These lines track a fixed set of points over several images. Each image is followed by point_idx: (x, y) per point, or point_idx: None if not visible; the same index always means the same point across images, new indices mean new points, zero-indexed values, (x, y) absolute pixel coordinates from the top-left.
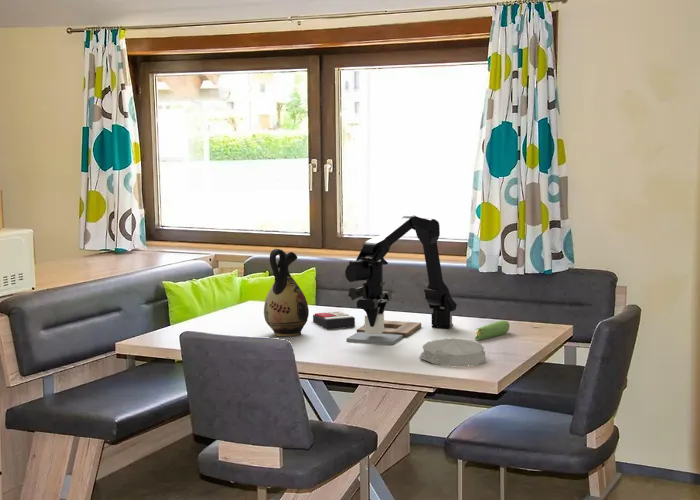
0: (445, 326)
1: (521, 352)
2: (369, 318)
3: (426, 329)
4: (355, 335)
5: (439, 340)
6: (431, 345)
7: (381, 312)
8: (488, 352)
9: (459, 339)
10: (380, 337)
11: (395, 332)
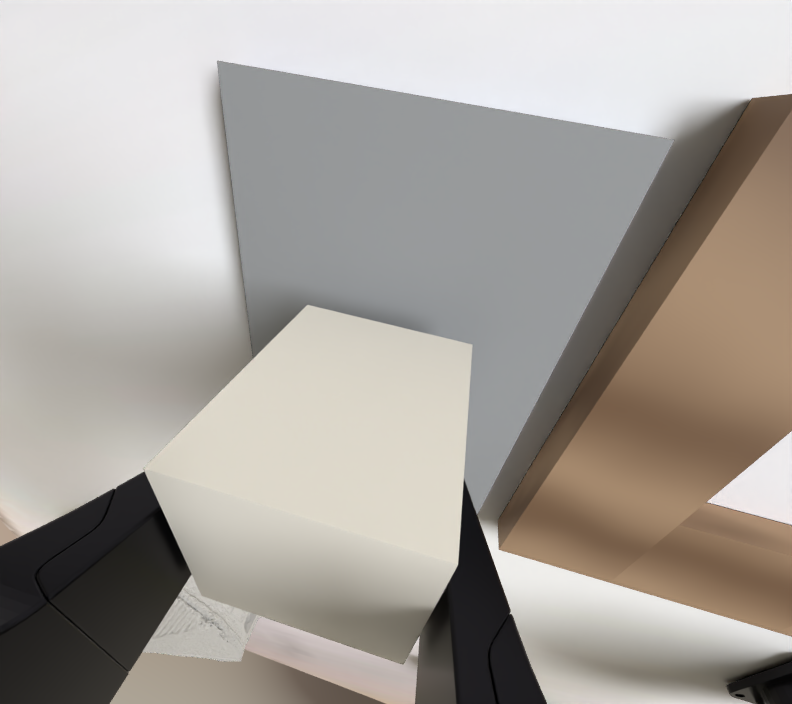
0: (757, 693)
1: (317, 669)
2: (142, 491)
3: (751, 626)
4: (421, 153)
5: None
6: None
7: (421, 680)
8: (289, 634)
9: (162, 652)
10: None
11: (528, 502)
